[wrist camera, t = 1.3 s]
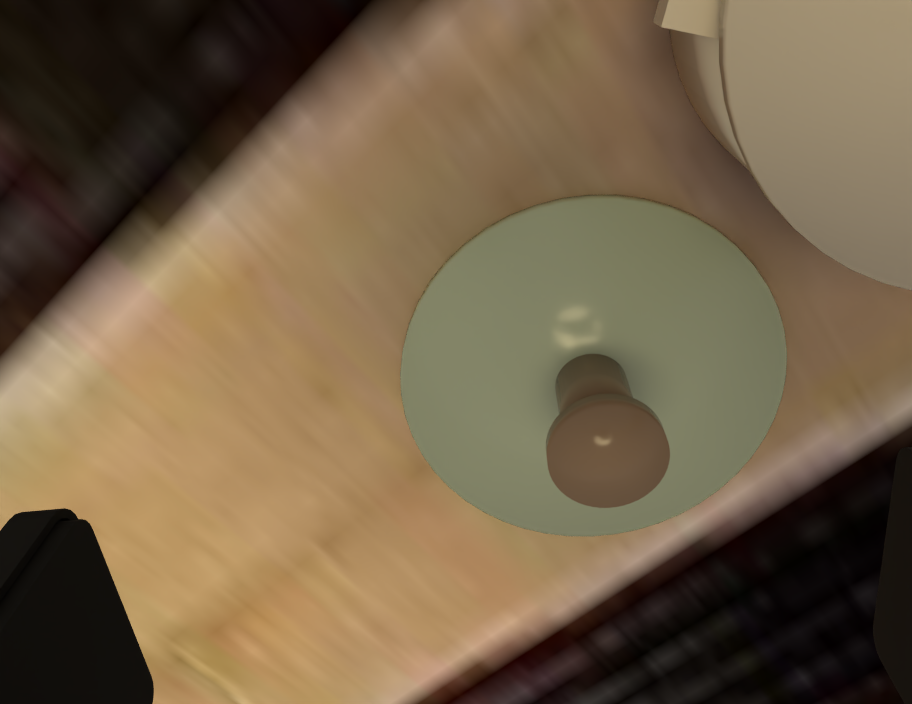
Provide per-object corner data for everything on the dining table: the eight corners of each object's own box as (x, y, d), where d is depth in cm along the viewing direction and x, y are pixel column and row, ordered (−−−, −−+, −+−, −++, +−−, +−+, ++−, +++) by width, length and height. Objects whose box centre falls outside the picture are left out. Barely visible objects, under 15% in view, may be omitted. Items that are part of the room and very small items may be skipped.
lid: (839, 234, 33) (914, 299, 27) (707, 547, 40) (745, 651, 34) (437, 155, 32) (428, 206, 26) (377, 491, 39) (359, 588, 33)
